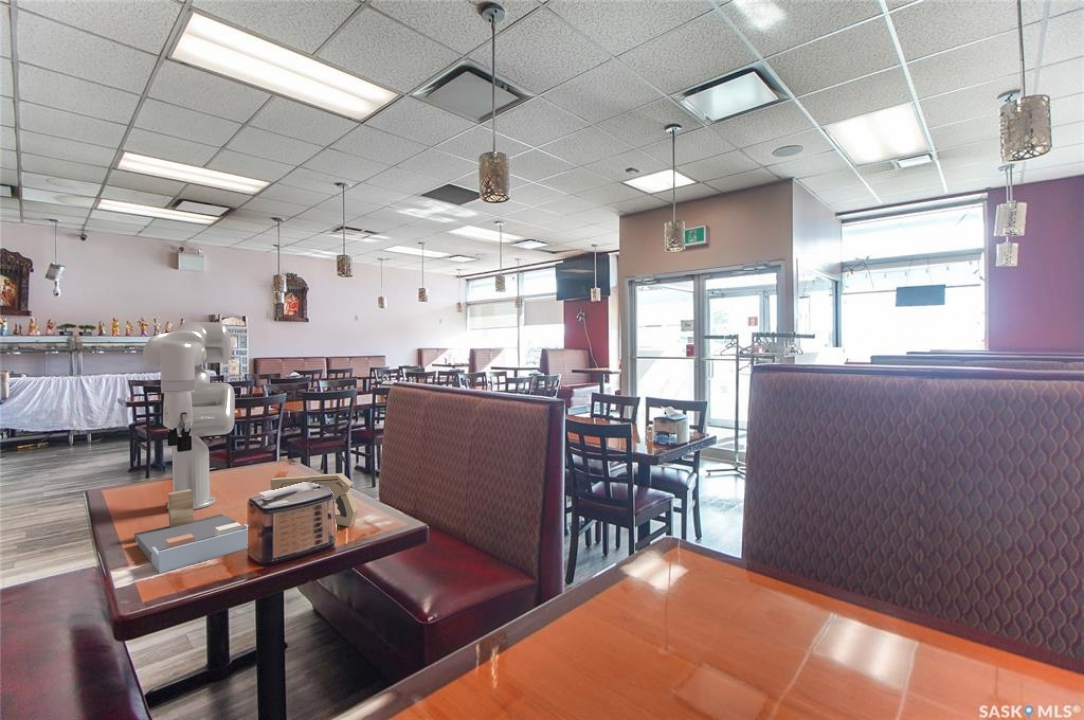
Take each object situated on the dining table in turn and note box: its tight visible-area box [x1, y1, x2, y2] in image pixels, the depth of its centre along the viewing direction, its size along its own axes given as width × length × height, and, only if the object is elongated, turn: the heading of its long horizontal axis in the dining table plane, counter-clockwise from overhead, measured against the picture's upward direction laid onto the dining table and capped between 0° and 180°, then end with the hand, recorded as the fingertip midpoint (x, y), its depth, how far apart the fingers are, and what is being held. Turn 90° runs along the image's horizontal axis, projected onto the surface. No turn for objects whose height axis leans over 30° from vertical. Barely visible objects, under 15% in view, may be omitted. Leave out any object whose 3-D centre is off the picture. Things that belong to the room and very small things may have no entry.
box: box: [150, 523, 249, 574], centre depth 120 cm, size 8×20×5 cm, turn 139°
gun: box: [269, 472, 359, 528], centre depth 141 cm, size 24×3×15 cm, turn 84°
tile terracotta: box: [166, 534, 194, 549], centre depth 116 cm, size 5×5×3 cm
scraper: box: [133, 489, 225, 543], centre depth 135 cm, size 3×20×11 cm, turn 139°
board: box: [136, 514, 244, 563], centre depth 128 cm, size 15×20×2 cm
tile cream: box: [215, 521, 242, 537], centre depth 124 cm, size 5×5×3 cm
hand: (179, 448), depth 134 cm, fingers open, 9 cm apart
